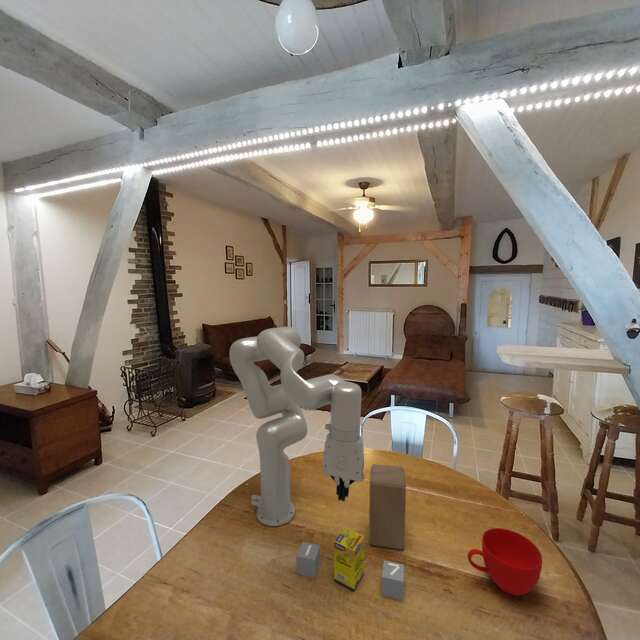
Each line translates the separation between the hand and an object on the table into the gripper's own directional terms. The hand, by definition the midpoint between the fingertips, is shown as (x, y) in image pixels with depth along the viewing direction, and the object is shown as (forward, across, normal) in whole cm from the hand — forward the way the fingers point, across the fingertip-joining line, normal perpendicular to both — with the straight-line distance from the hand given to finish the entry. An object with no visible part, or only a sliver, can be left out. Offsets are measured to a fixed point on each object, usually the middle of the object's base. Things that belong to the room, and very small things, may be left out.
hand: (342, 497), depth 86 cm
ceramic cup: (+18, +40, +6) cm, 45 cm away
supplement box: (+20, +3, -3) cm, 20 cm away
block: (+20, +11, +14) cm, 27 cm away
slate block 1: (+20, -8, -3) cm, 22 cm away
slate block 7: (+19, +14, -3) cm, 24 cm away
